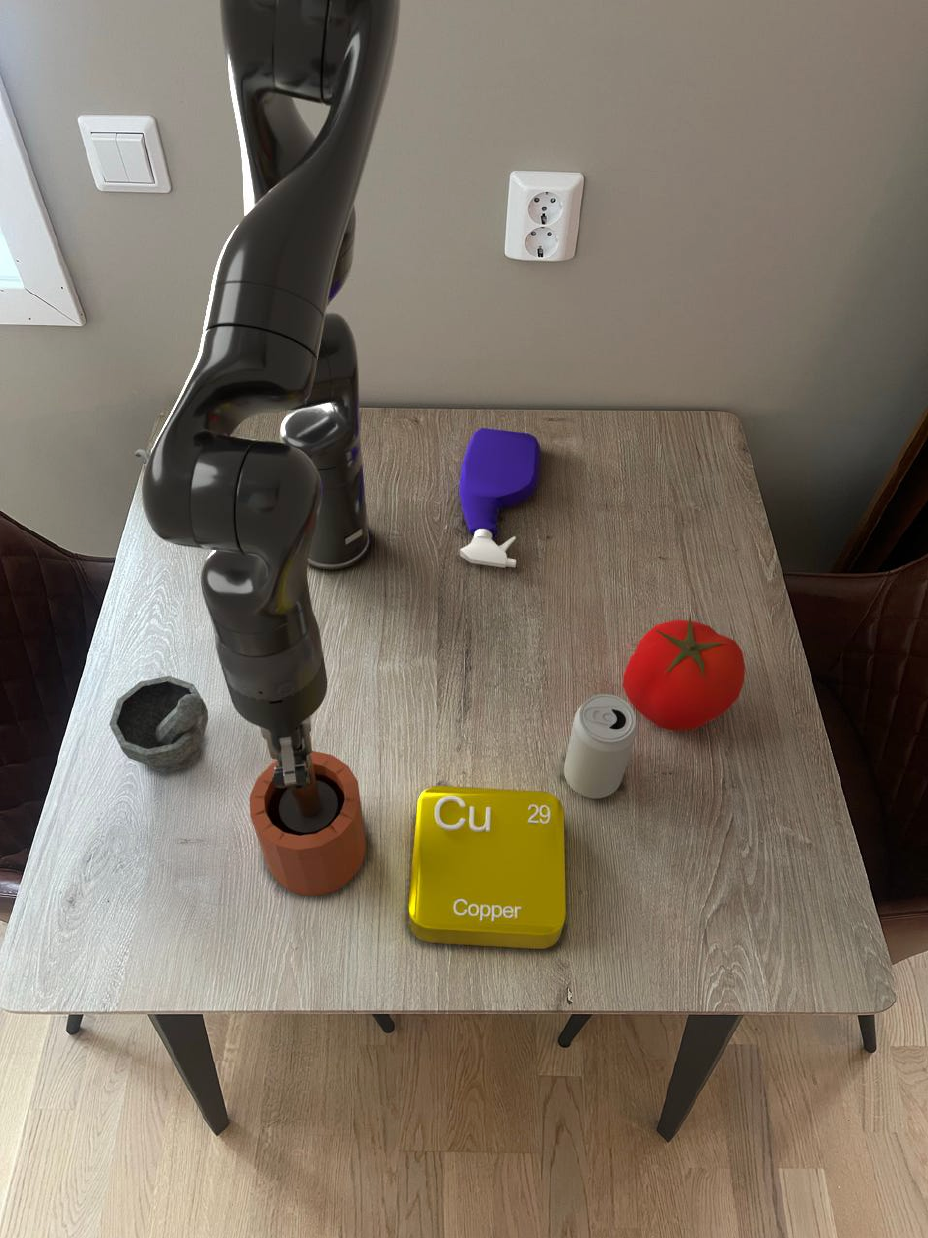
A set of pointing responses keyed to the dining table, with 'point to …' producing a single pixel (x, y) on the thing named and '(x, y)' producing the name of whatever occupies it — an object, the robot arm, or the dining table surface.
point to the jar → (312, 857)
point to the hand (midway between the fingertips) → (298, 769)
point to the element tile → (488, 868)
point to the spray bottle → (495, 488)
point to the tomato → (684, 675)
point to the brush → (308, 807)
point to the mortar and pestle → (160, 723)
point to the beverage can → (600, 745)
